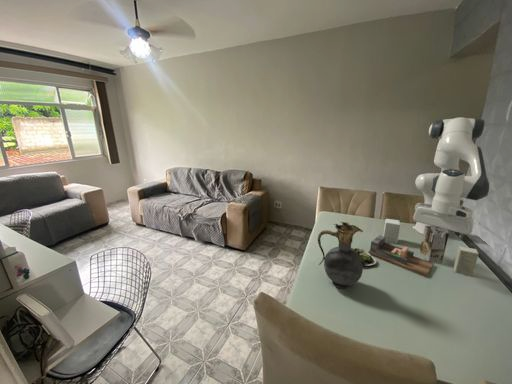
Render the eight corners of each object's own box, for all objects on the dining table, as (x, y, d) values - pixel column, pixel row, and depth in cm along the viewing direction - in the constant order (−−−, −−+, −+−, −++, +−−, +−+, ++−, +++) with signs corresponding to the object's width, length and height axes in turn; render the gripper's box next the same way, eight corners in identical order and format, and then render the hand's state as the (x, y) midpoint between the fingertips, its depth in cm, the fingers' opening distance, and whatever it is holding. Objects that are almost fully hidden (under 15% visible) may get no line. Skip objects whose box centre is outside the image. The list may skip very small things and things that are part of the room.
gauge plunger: (394, 252, 116) (396, 243, 114) (406, 256, 112) (408, 247, 110) (389, 257, 111) (390, 248, 110) (401, 262, 107) (403, 253, 106)
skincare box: (470, 272, 101) (477, 249, 98) (472, 277, 98) (479, 253, 94) (452, 267, 105) (458, 245, 101) (454, 272, 101) (460, 249, 98)
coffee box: (442, 263, 109) (449, 234, 104) (428, 261, 110) (434, 233, 105) (432, 253, 117) (438, 226, 113) (419, 252, 118) (424, 225, 114)
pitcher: (360, 296, 88) (369, 230, 80) (313, 284, 96) (316, 222, 88) (360, 280, 98) (368, 219, 90) (317, 270, 106) (320, 213, 97)
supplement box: (397, 244, 127) (400, 224, 123) (382, 241, 130) (385, 222, 127) (396, 239, 133) (399, 220, 129) (382, 236, 136) (385, 218, 133)
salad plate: (331, 248, 125) (331, 241, 124) (361, 247, 125) (362, 240, 124) (345, 269, 106) (346, 261, 105) (380, 267, 107) (382, 259, 105)
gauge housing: (377, 245, 126) (379, 234, 124) (433, 266, 106) (436, 252, 104) (367, 254, 118) (369, 241, 116) (425, 277, 98) (429, 263, 96)
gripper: (413, 203, 99) (408, 230, 103) (475, 215, 84) (467, 247, 88) (418, 200, 103) (413, 226, 107) (478, 211, 88) (469, 241, 92)
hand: (437, 235), depth 97 cm, fingers closed
